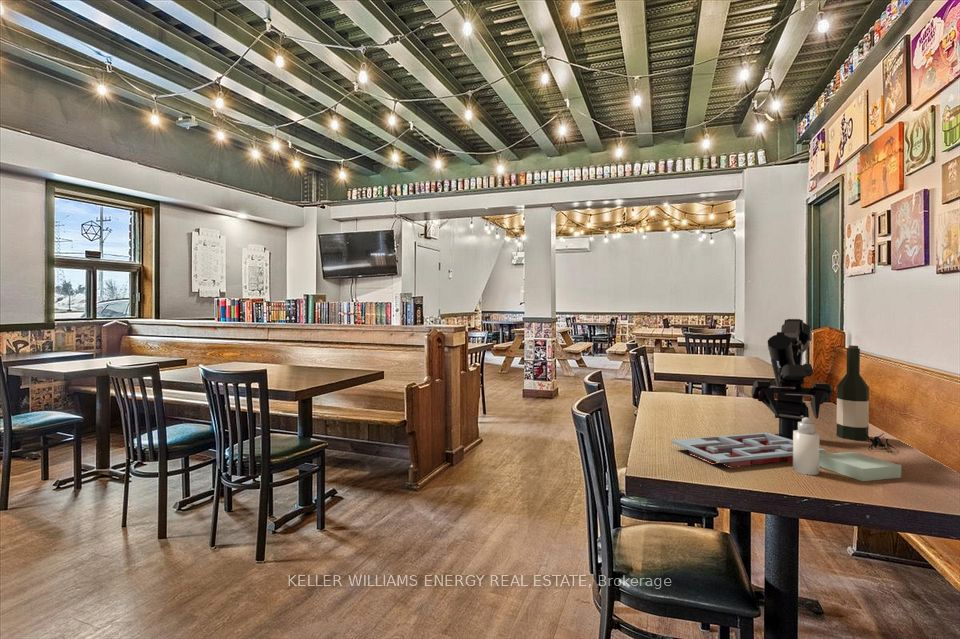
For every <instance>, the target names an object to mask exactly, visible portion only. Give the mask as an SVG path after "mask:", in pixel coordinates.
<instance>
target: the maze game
mask: <svg viewBox="0 0 960 639" xmlns="http://www.w3.org/2000/svg"><path fill="white" fill-rule="evenodd" d="M670 443H671V444H674V445H675V446H677V447H680V448H683V449H686V450H688V452H689V453H690V454H692V455H695V456H697V457H700V458H702V459H705V460H707V461H709V462H711V463H716V462H719V463H723V464H725V465H727V466H730V467H737V468H739V467H738V466H747V467H750V466H749V465H751V464H753V465H758V464H757V463H762V464H768V463H769V462H771V463H779V461H780V462H781V461H784V462H786V461H787V462H786V463H793V440H791V439H787V438H784V437H780V436H777V435H775V434H773V433H769V432H766V431H765V432H755V433H754V432H753V433H743V434H742V433H741V434H732V435H731V434H730V435H729V434H728V435H717V436H706V437H705V436H704V437H691V438H679V439H671V440H670ZM819 454H826V449H824V448H821V447H819ZM723 464H722V465H723Z"/></svg>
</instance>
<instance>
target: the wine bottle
mask: <svg viewBox="0 0 960 639" xmlns="http://www.w3.org/2000/svg"><path fill="white" fill-rule="evenodd" d="M860 358H861V349H860V347H859V345H853V344H852V345H848V347H846V373H845V375H844V376H843V377H842V378H841V380H840V381H839V383H838V384H837V385H836V437H838V436H839V437H838V438H840V439H844V438H845V439H844V440H850V441H859V440H861V441H863V442H865V441H868V440H869V439H868V437H867V436H866V435H865V434H867V435H868V436H869V426H870V425H869V420H870V419H869V414H870V410H869V409H870V387H869V385H868V384H867V383H866V382H865V379H864V378H863V376H861V374H860V371H861V370H860V369H861V367H860V365H861V364H860V362H861V359H860ZM862 432H863V433H862ZM864 433H865V434H864ZM867 439H868V440H867ZM861 441H860V442H861Z"/></svg>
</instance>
